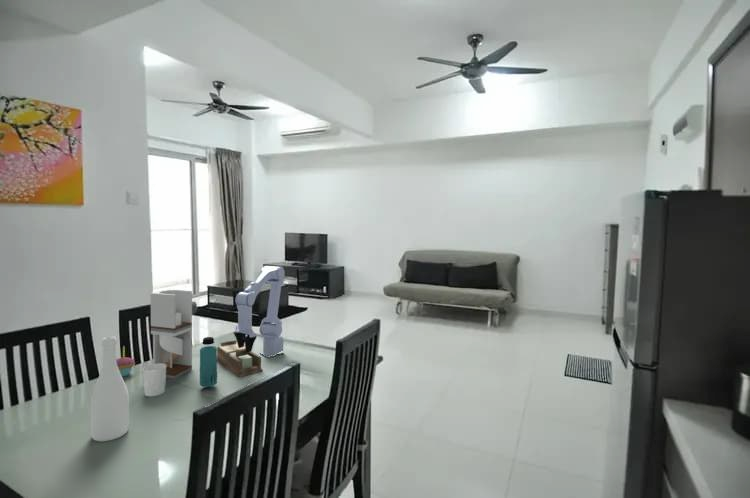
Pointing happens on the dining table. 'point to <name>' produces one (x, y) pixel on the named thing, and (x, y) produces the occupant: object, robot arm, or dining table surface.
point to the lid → (230, 347)
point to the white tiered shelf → (172, 330)
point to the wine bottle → (109, 398)
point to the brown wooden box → (238, 362)
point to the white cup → (154, 379)
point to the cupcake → (125, 364)
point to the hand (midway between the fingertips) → (244, 349)
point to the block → (245, 361)
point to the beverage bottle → (208, 363)
